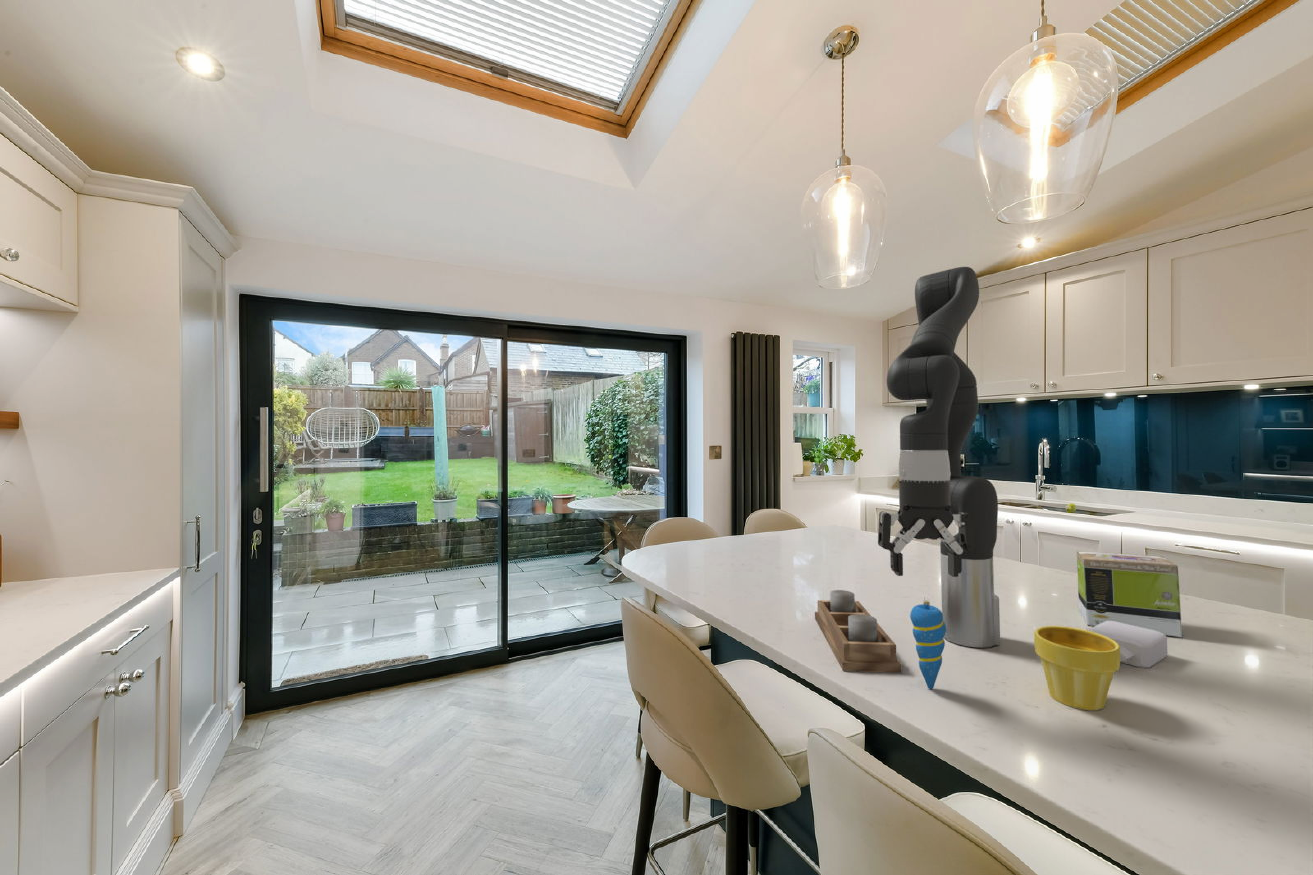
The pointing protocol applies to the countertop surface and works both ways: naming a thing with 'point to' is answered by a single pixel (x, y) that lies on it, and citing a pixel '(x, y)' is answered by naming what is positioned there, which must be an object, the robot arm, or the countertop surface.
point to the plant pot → (1077, 665)
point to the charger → (1135, 643)
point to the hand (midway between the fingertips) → (925, 575)
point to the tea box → (1129, 591)
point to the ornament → (928, 639)
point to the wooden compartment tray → (855, 635)
